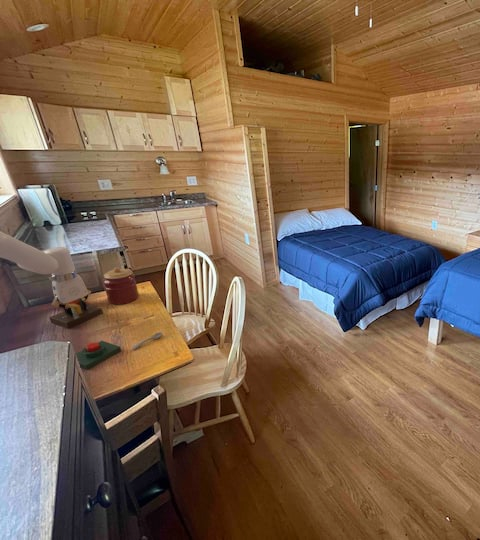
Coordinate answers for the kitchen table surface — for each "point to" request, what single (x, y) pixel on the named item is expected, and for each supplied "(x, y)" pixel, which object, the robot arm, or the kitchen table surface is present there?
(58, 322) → the plate
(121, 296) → the kitchen canister
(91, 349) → the button
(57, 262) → the robot arm
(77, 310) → the latch
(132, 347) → the spoon
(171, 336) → the kitchen table surface
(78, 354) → the button box
